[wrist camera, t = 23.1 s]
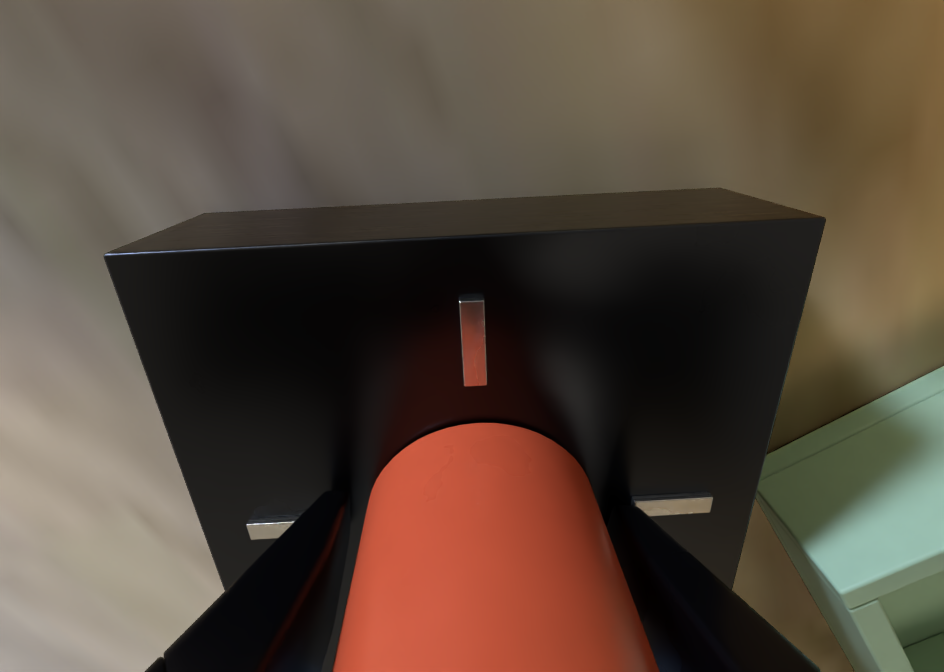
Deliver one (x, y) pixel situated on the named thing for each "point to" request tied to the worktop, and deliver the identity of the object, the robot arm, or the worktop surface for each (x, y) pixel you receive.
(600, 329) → the black square plate
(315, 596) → the robot arm
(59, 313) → the worktop surface
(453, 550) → the tap knob
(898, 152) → the worktop surface
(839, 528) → the tray
